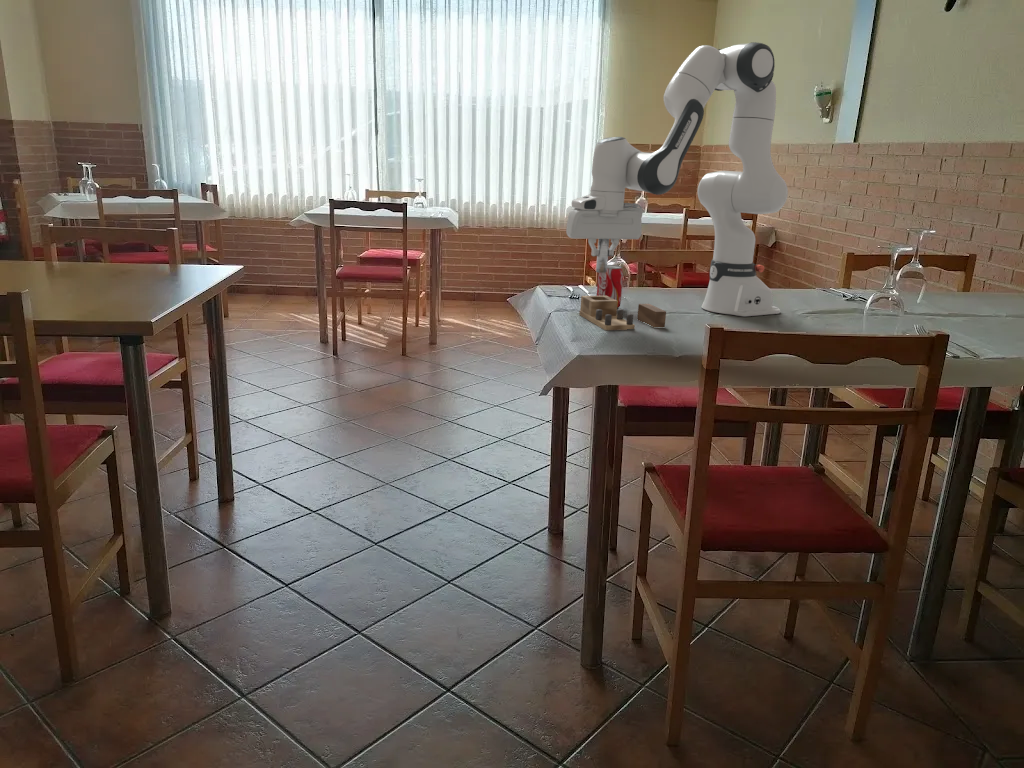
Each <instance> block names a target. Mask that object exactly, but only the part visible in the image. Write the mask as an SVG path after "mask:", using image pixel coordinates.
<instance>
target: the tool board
mask: <svg viewBox="0 0 1024 768" xmlns="http://www.w3.org/2000/svg"><path fill="white" fill-rule="evenodd" d="M580 299H581V300H580V310H579V313H578V315H579V316H581V317H582V318H584V319H586V320H587V321H589V322H591V323H592V324H594V325H595V326H597V327H599V328H601V329H602V330H604V331H628V330H627V329H634V330H635V328H636V327H635V325H636V324H634V314H633V313H627V314H626V319H624V309H623V308H617V302H618V301H617V300H615V299H613V298H610V297H608V296H597V295H581V296H580Z"/></svg>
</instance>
